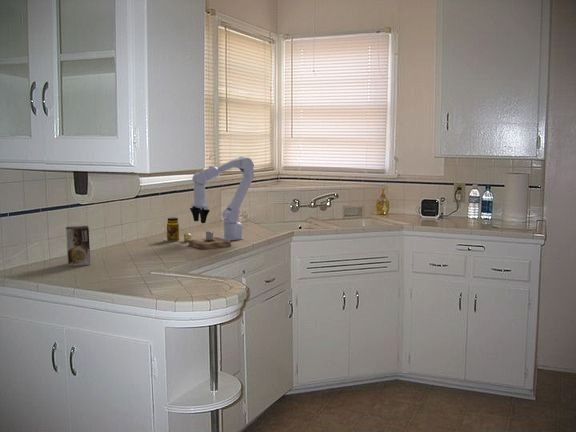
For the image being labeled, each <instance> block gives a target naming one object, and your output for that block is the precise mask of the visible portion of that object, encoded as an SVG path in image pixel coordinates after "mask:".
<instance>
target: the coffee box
mask: <svg viewBox="0 0 576 432" xmlns="http://www.w3.org/2000/svg"><path fill="white" fill-rule="evenodd" d="M65 231H66V232H65V233H66V248H67V249H66V251H67V252H66V253H67V266H68V267H79V266H89V265H91V249H90V248H91V247H90V228H89V225H78V226H77V225H75V226H66V227H65Z"/></svg>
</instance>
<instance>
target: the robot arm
mask: <svg viewBox="0 0 576 432" xmlns="http://www.w3.org/2000/svg"><path fill="white" fill-rule="evenodd" d="M254 166H255V164H254V162H253V160H252V159H251V158H250V157H244V156H240V157H237V158H234V159H231V160H229V161H227V162H225V163H223V164H221V165H219V166H214V165H213V166H212V165H210V166H208V168H206V169H201V170H200V172H199V171H198V172H196V173H195V172H194V174H193V176H192V177H191V178H192V181H193V202H192V203H190V204H191V207H190V208H189V210H190V212H191V214H192V218H193V222H199V221H200V224H206V222H207V218H208V214H209V213H210V210H211V209H209V206H208V204H206V182H208V181H210V180H213V179H214V178H218V177H219V175H220V173H222V172H225V171H227V170H231V169H232V168H236V169H237V168H238V169H239V170H240V172H241V175H242V178H241V181H240V182H239V185H238V187H237V188H236V191H235V193H234V195H233V198H232V200H231V202H230V203H229V204H228V205H227V207H226V209H224V210H223V212H222V219H223V237H220V238H221V239H225V240H228V241H236V240H237V241H238V240H243V239H244V238H243V225H242V223H241V222H240V221H238V220H239V214H240V210H241V206H242V203H243V201H244V199H245V197H246V195H247V193H248V191H249V188H250V186H251V184H252V182H253V180H254V177H255V175H254V171H255V170H254V168H255V167H254Z"/></svg>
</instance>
